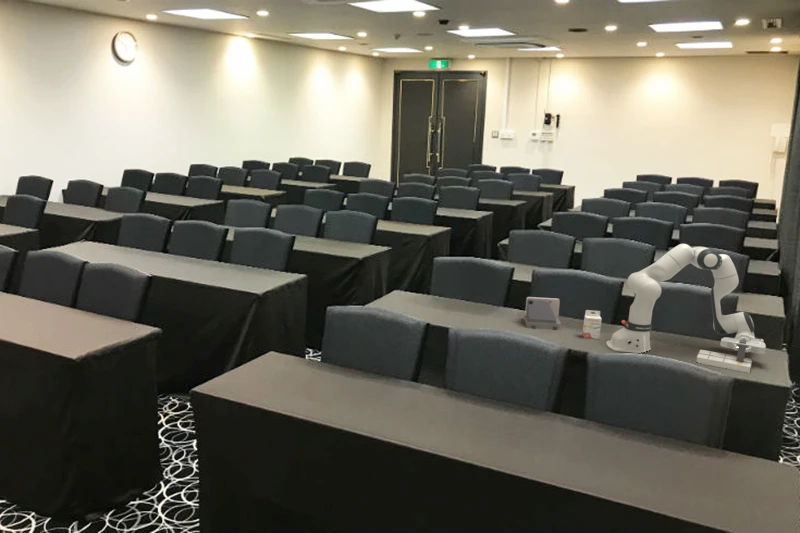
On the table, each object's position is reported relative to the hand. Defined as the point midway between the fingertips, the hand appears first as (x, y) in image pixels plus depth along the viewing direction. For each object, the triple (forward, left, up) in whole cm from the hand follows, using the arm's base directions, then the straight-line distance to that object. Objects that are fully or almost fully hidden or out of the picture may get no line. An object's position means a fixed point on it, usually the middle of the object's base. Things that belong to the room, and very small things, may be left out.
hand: (741, 349), depth 338 cm
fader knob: (0, +1, -8) cm, 8 cm away
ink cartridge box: (-63, +39, -9) cm, 75 cm away
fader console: (-6, +4, -9) cm, 11 cm away
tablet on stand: (-85, +60, -9) cm, 105 cm away
